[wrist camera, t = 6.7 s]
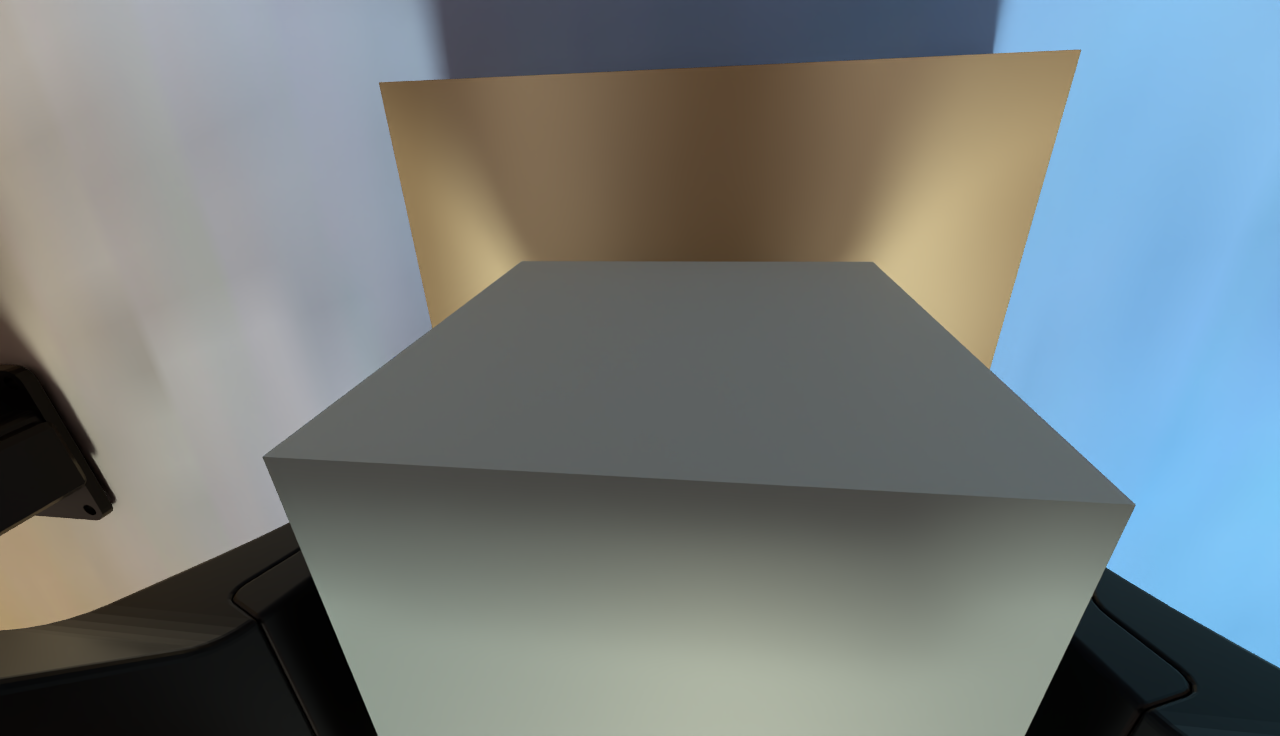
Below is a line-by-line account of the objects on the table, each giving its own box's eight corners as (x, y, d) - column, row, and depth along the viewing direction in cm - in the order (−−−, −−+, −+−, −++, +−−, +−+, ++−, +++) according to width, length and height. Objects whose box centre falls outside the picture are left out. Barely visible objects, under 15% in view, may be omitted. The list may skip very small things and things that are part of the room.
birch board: (517, 490, 18) (482, 557, 15) (450, 89, 13) (378, 82, 10) (890, 513, 16) (925, 592, 13) (991, 65, 11) (1081, 49, 8)
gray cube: (555, 521, 12) (425, 851, 7) (521, 261, 9) (263, 456, 4) (827, 539, 11) (931, 929, 6) (873, 261, 9) (1136, 505, 3)
